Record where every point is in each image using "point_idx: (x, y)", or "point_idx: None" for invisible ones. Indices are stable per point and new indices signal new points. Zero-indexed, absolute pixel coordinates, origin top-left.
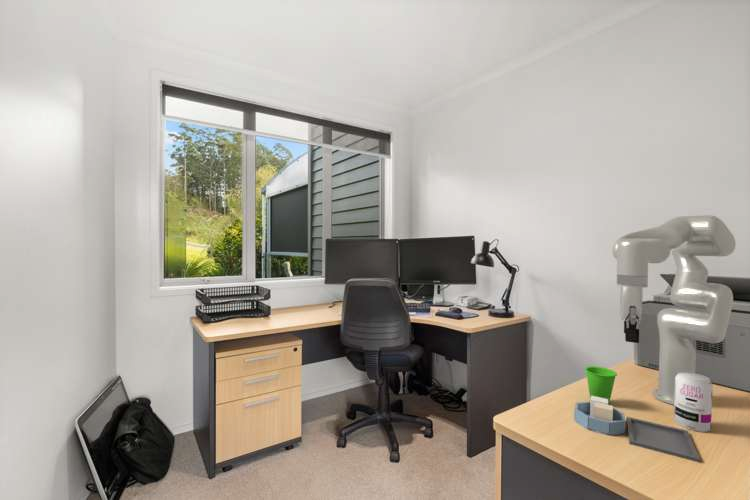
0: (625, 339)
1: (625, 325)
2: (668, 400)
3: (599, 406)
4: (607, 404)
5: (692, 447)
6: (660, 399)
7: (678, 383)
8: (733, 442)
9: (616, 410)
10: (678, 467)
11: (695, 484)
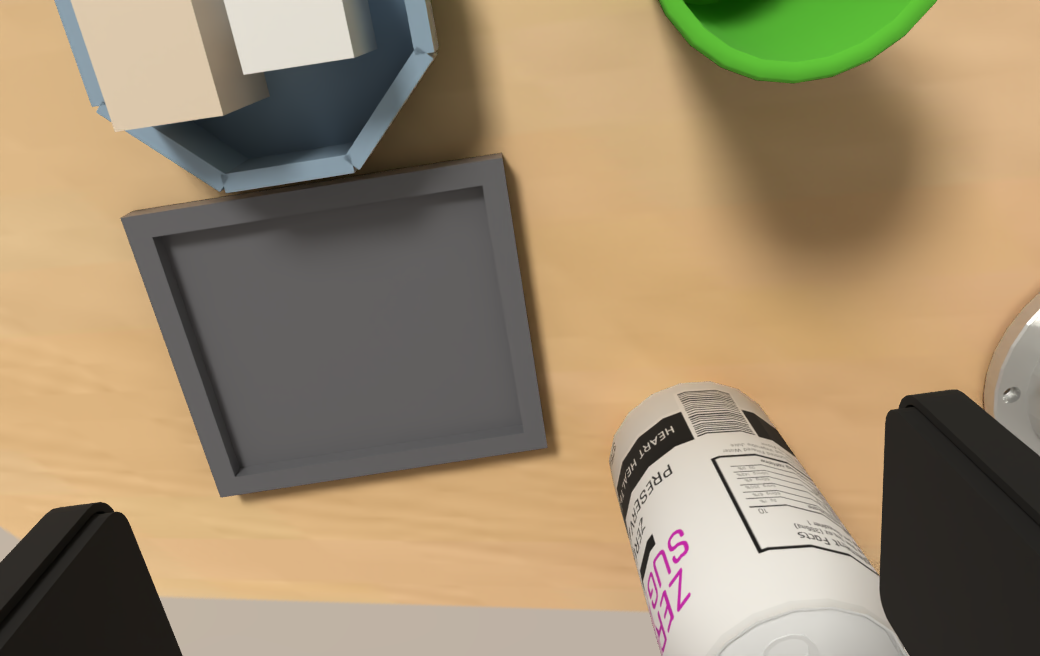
0: (35, 527)
1: (1023, 559)
2: (1013, 347)
3: (106, 24)
4: (245, 69)
5: (334, 470)
6: (1036, 299)
7: (717, 563)
8: (612, 583)
9: (376, 115)
10: (102, 416)
11: (2, 472)
